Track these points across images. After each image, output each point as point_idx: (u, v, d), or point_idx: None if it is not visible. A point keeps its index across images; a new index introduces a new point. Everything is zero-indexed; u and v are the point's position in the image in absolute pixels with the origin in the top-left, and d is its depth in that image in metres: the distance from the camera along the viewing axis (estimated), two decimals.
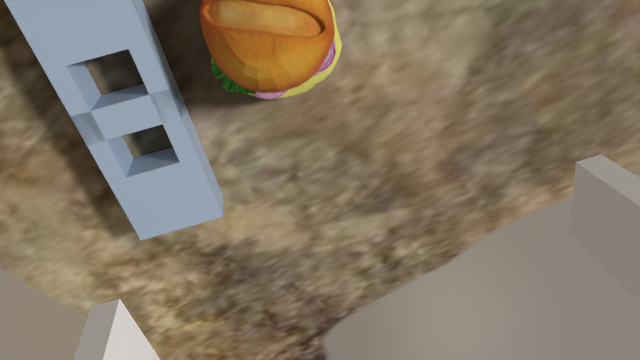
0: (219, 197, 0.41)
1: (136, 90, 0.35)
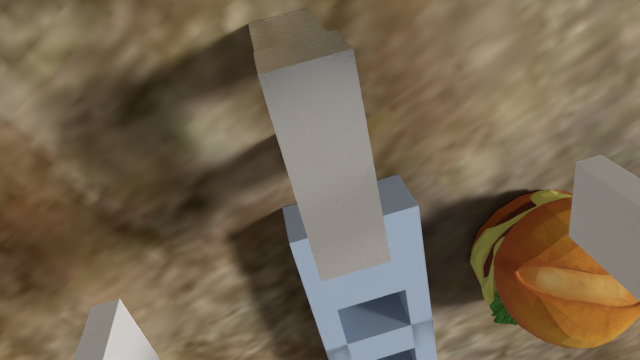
0: None
1: (383, 307, 0.32)
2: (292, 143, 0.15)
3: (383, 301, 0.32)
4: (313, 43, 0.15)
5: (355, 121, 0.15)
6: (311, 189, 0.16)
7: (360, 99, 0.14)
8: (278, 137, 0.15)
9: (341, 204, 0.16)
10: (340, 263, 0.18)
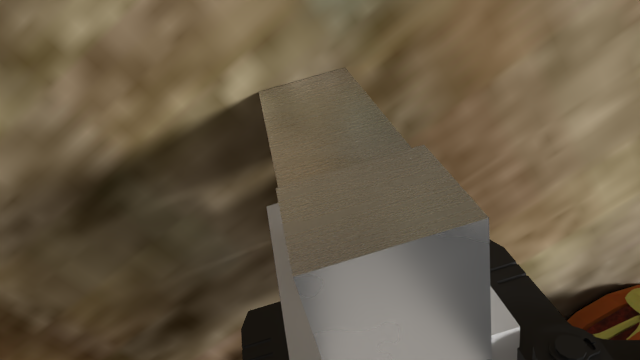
0: None
1: None
2: None
3: None
4: (391, 181, 0.08)
5: (472, 330, 0.08)
6: None
7: (487, 297, 0.07)
8: None
9: None
10: None
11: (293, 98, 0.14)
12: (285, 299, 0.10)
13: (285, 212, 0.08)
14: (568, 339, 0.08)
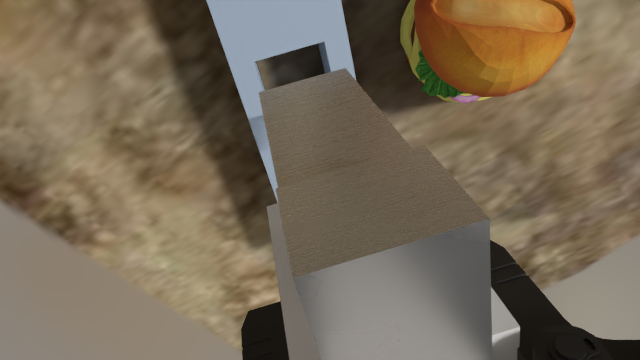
0: None
1: None
2: None
3: None
4: (391, 182, 0.08)
5: (473, 331, 0.08)
6: None
7: (488, 298, 0.07)
8: None
9: None
10: None
11: (293, 98, 0.14)
12: (285, 299, 0.10)
13: (285, 213, 0.08)
14: (568, 339, 0.08)
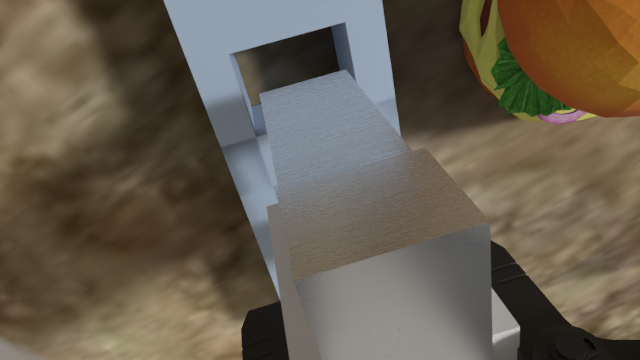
0: None
1: None
2: None
3: None
4: (392, 184, 0.08)
5: (474, 333, 0.08)
6: None
7: (488, 300, 0.07)
8: None
9: None
10: None
11: (293, 100, 0.14)
12: (285, 299, 0.10)
13: (286, 215, 0.08)
14: (568, 339, 0.08)
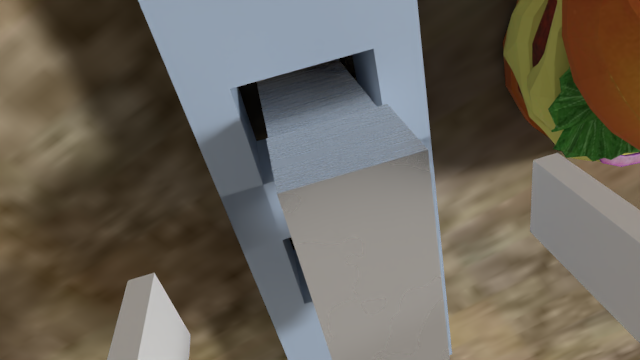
0: None
1: None
2: (327, 282, 0.10)
3: None
4: (358, 129, 0.10)
5: (423, 248, 0.10)
6: (351, 336, 0.11)
7: (432, 218, 0.09)
8: (306, 275, 0.10)
9: (393, 351, 0.11)
10: None
11: (284, 76, 0.16)
12: None
13: (273, 154, 0.10)
14: None
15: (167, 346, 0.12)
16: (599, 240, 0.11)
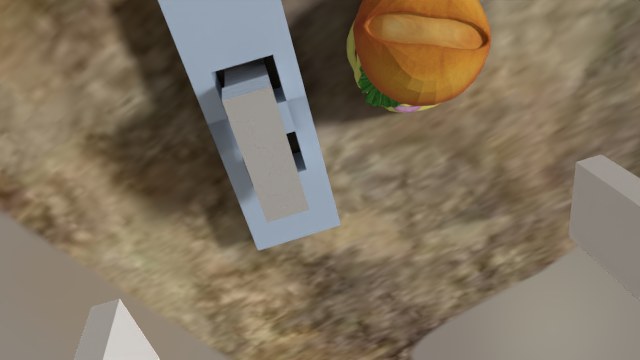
0: None
1: None
2: (243, 137, 0.27)
3: None
4: (254, 83, 0.27)
5: (277, 124, 0.27)
6: (255, 163, 0.28)
7: (278, 112, 0.27)
8: (234, 134, 0.27)
9: (274, 173, 0.29)
10: (278, 211, 0.30)
11: (237, 68, 0.33)
12: None
13: (223, 91, 0.27)
14: None
15: None
16: None
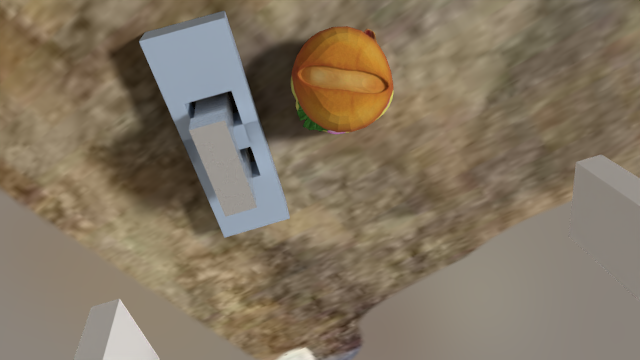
0: (285, 202, 0.51)
1: None
2: (205, 155, 0.38)
3: None
4: (213, 115, 0.38)
5: (230, 146, 0.38)
6: (215, 174, 0.39)
7: (230, 138, 0.37)
8: (199, 153, 0.37)
9: (229, 181, 0.39)
10: (233, 208, 0.41)
11: (206, 98, 0.43)
12: None
13: (191, 122, 0.38)
14: None
15: None
16: None
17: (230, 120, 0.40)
